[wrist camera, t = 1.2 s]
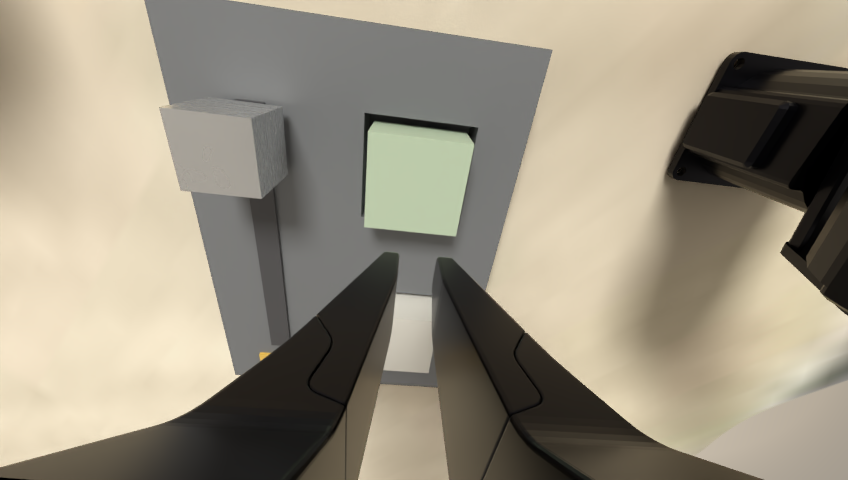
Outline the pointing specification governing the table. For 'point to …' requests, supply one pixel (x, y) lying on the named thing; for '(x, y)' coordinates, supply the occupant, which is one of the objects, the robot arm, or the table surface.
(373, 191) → the sage button
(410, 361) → the offwhite button
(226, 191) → the slider knob
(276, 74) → the control panel
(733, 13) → the table surface
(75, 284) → the table surface
